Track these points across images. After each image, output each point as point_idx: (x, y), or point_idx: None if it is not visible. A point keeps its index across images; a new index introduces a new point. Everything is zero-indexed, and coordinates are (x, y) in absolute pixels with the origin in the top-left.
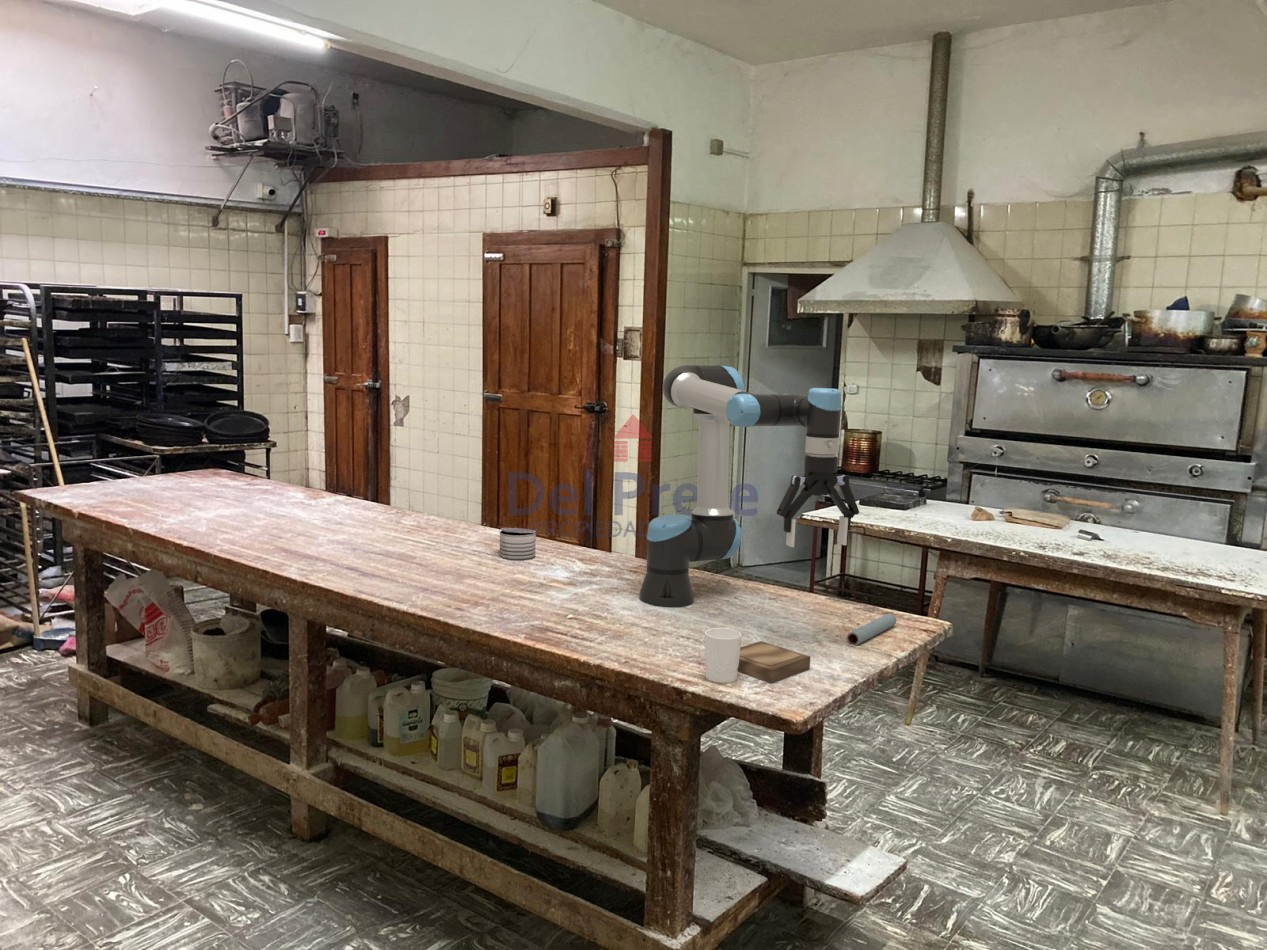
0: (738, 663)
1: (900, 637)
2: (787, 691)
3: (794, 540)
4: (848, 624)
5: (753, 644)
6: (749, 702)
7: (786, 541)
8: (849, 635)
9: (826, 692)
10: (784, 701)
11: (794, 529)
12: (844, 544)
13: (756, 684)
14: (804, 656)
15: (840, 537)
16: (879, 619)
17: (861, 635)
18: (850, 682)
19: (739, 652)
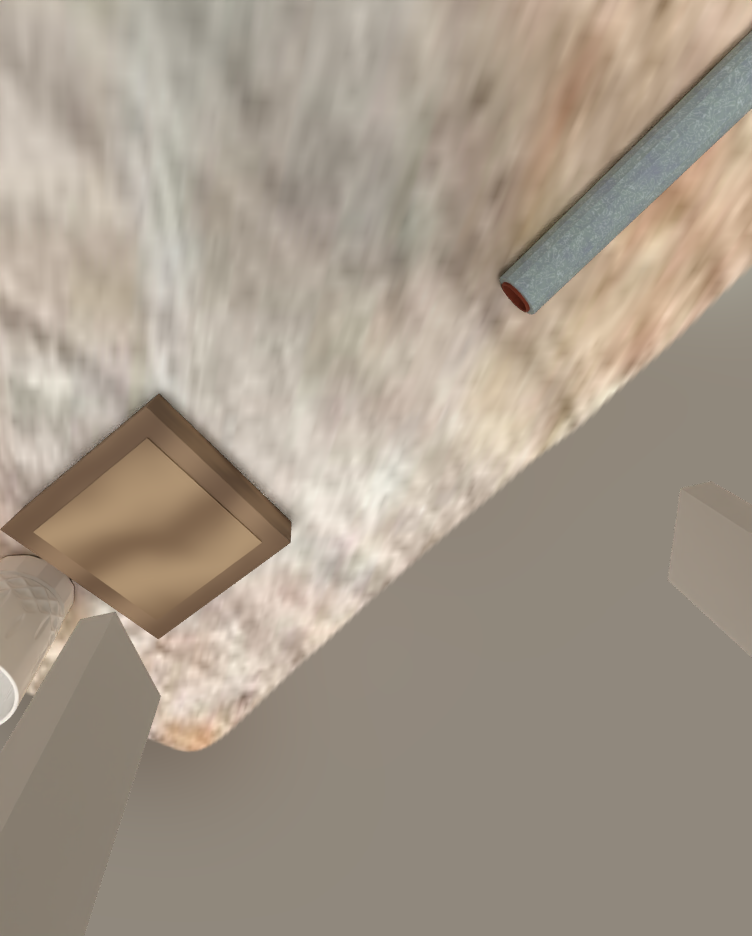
0: (56, 633)
1: (709, 223)
2: (202, 650)
3: (140, 758)
4: (621, 4)
5: (115, 445)
6: None
7: (66, 652)
8: (511, 287)
9: (292, 648)
10: (187, 694)
11: (80, 917)
12: (680, 583)
13: (128, 619)
14: (272, 544)
15: (725, 565)
16: (725, 111)
17: (551, 296)
18: (368, 595)
19: (41, 662)
